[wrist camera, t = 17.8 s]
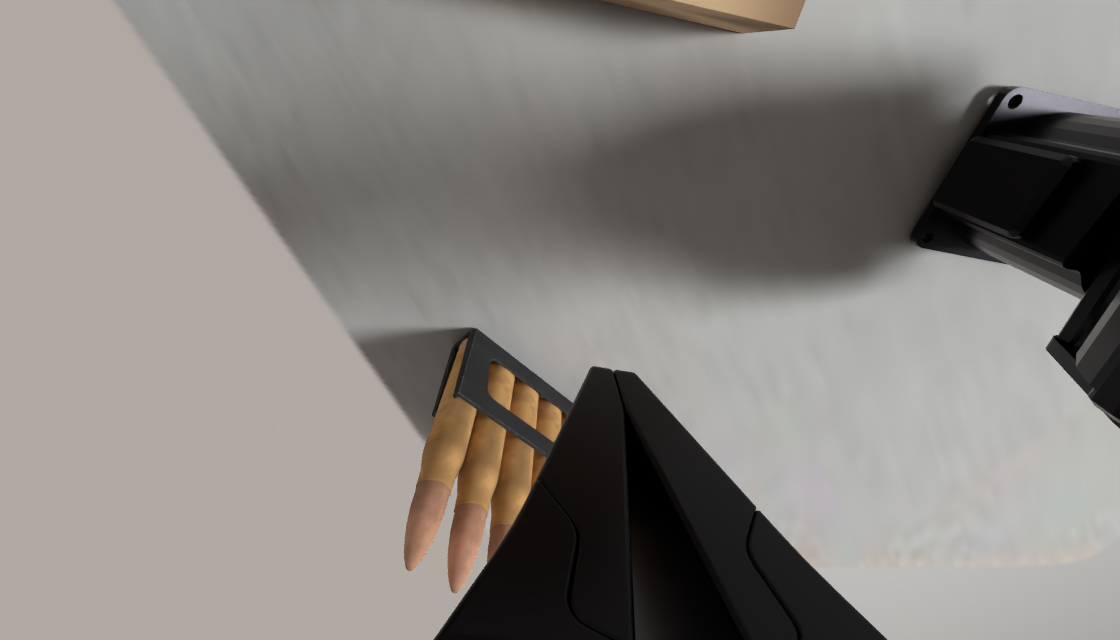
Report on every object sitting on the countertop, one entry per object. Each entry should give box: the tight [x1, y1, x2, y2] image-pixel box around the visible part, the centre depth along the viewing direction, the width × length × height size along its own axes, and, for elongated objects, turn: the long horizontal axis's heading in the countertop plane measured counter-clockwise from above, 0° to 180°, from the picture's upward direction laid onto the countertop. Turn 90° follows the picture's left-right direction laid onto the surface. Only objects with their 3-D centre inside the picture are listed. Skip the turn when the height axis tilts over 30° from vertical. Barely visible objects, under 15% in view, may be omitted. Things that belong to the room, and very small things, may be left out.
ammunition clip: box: [404, 329, 573, 593], centre depth 20 cm, size 11×2×12 cm, turn 45°
